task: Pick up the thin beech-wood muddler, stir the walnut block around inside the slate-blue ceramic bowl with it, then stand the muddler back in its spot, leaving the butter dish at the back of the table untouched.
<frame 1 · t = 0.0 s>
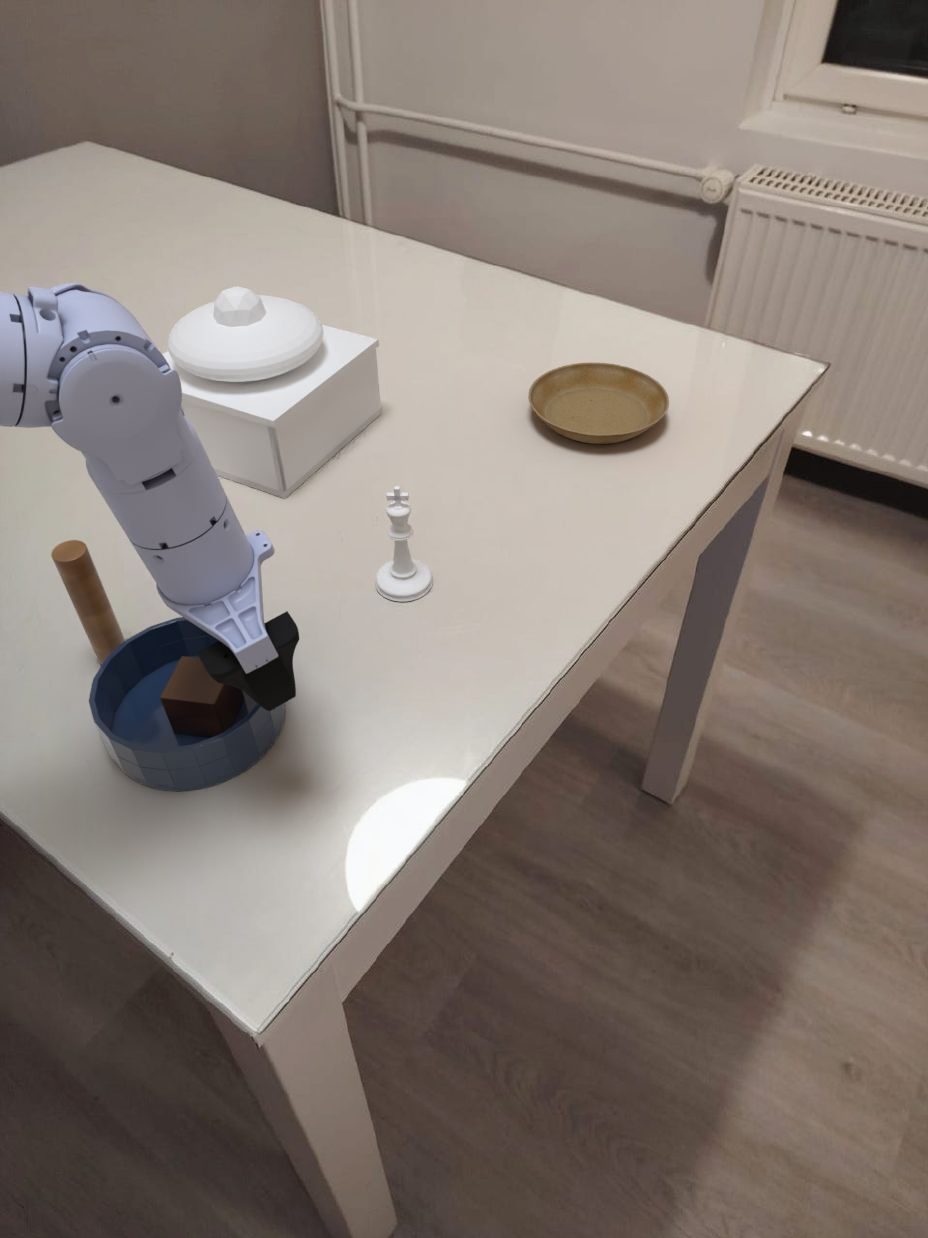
hand: (258, 662, 58), 8 cm above the table, tool pointing down, fingers open, 7 cm apart
block: (209, 715, 64), point 1 cm above the table, touching bowl
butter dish: (269, 434, 92), on the table
chess piece: (404, 584, 75), on the table
plant saucer: (595, 419, 93), on the table
muddler: (114, 656, 69), on the table
bowl: (198, 718, 64), on the table
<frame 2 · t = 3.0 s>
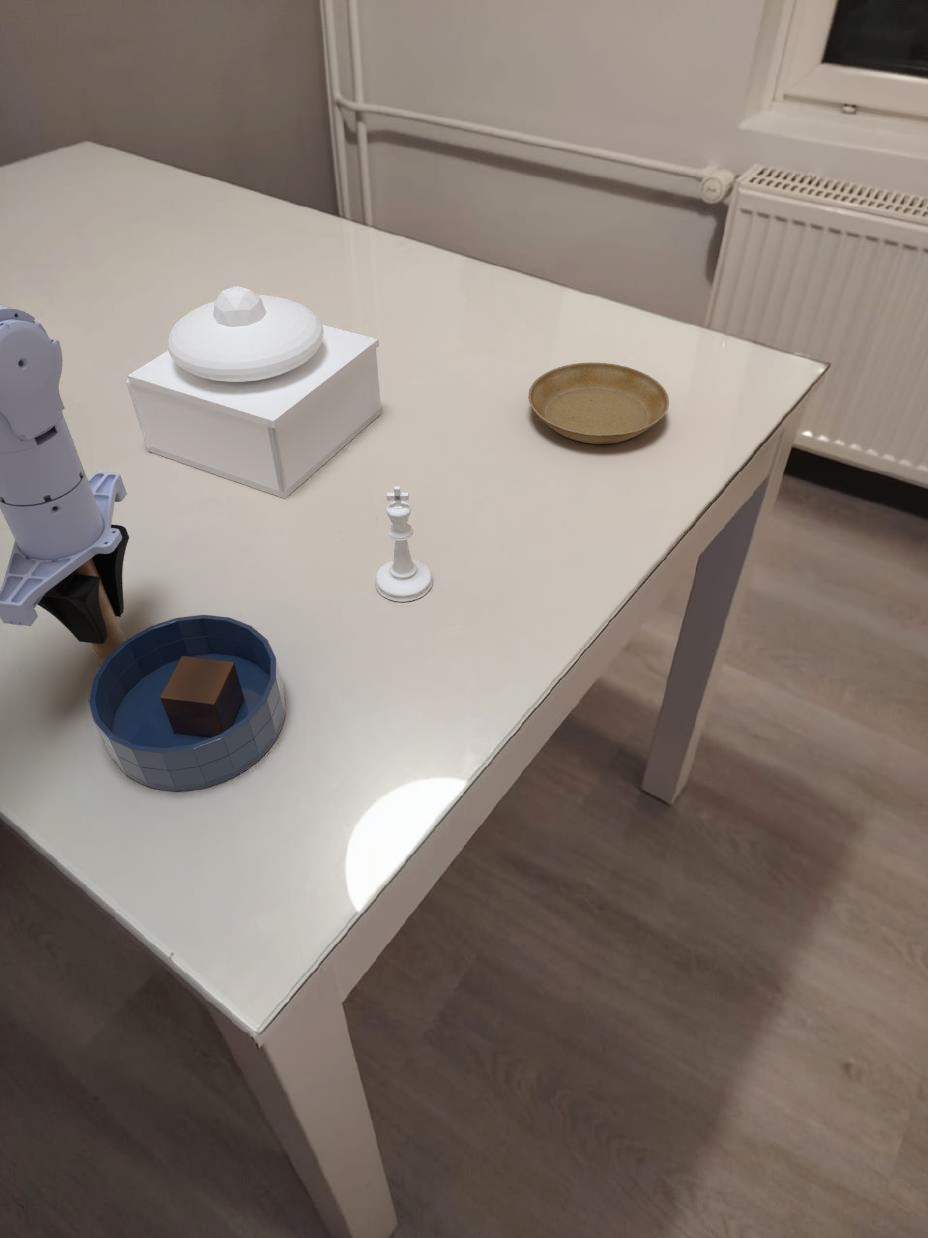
hand: (101, 626, 66), 3 cm above the table, tool pointing down, fingers closed on muddler, 2 cm apart
muddler: (114, 656, 69), on the table, touching gripper
everything else where it was.
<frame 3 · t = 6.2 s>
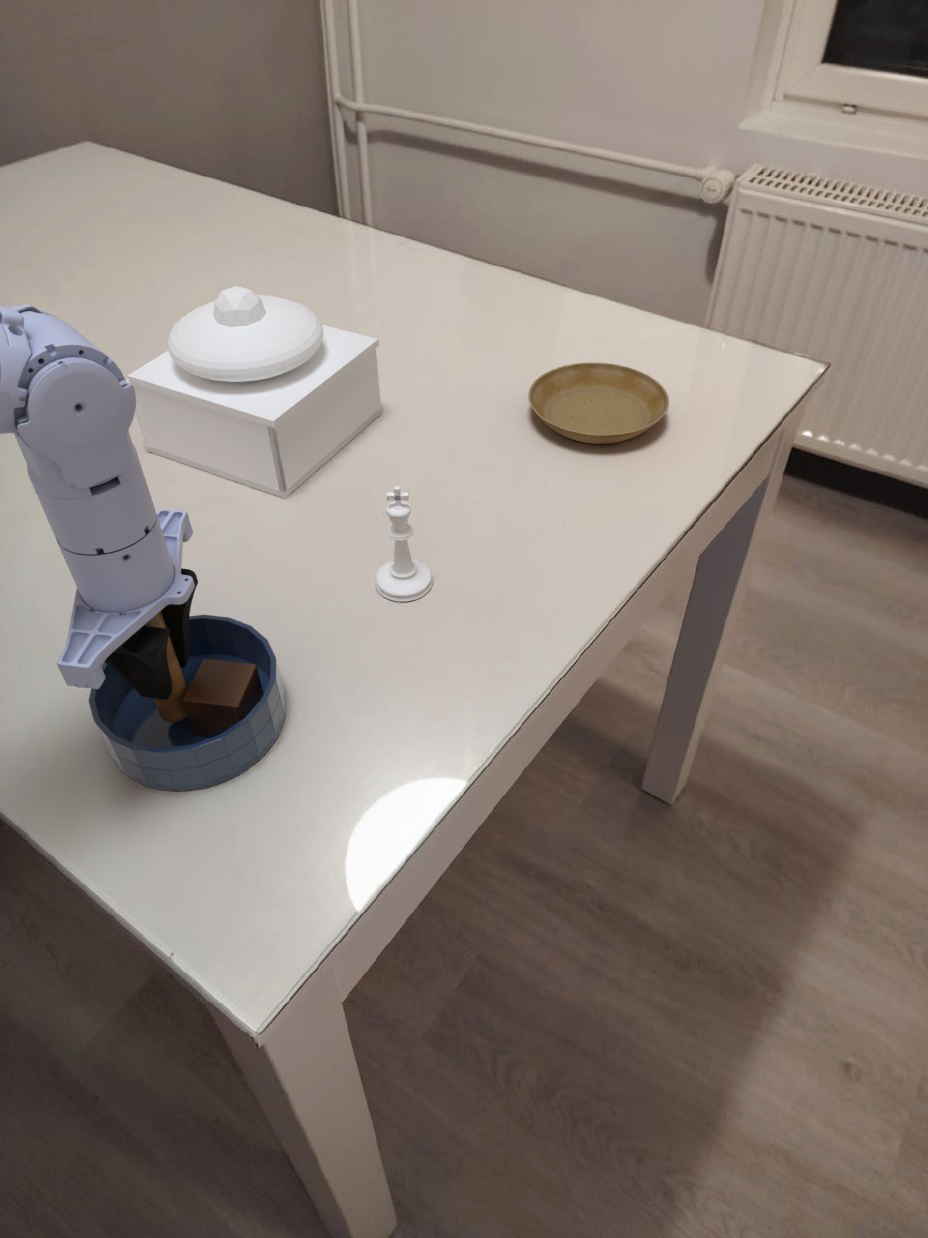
hand: (164, 678, 60), 5 cm above the table, tool pointing down, fingers closed on muddler, 2 cm apart
block: (231, 717, 64), point 1 cm above the table, touching bowl
muddler: (176, 709, 63), point 2 cm above the table, touching gripper
everything else where it was.
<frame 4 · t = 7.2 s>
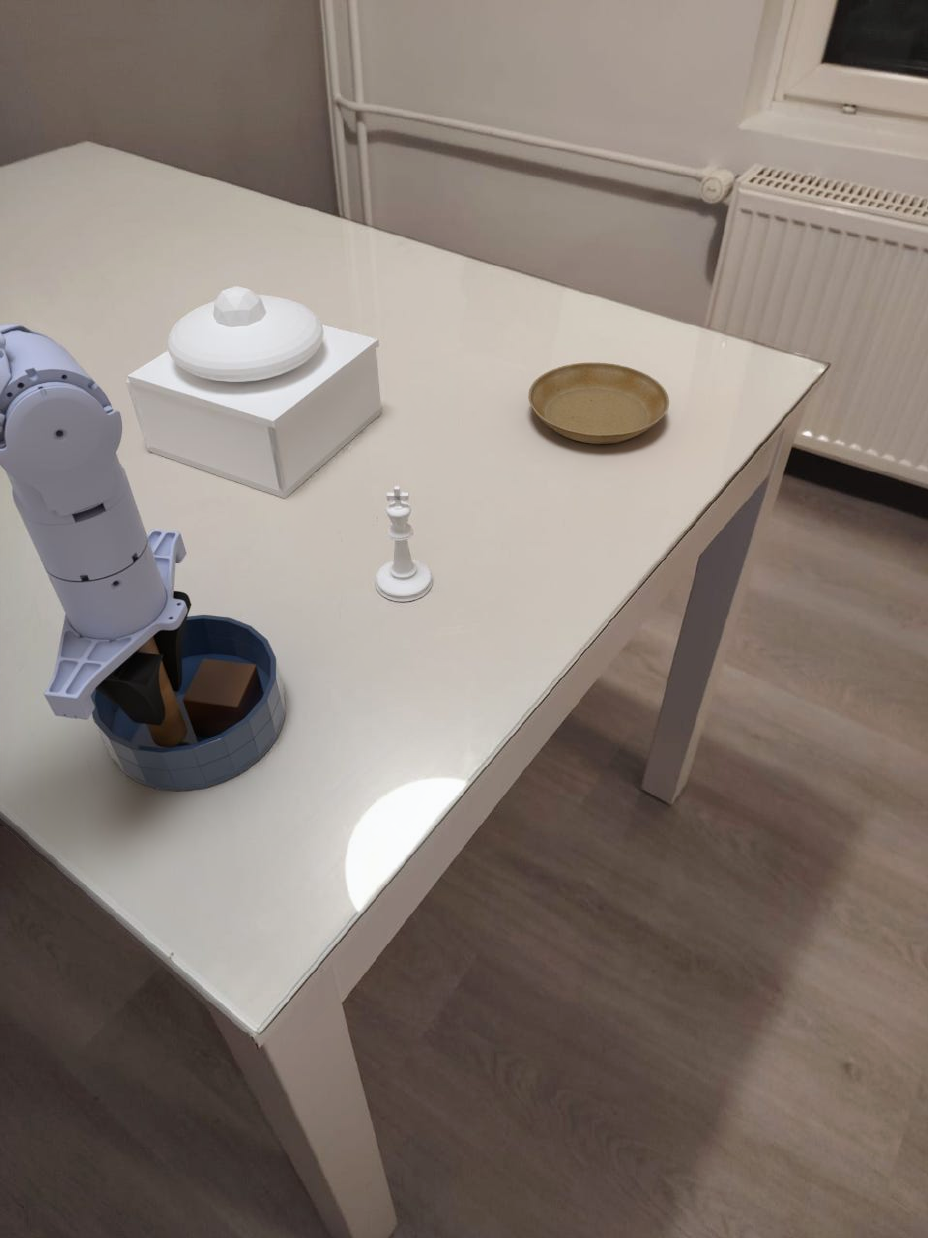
hand: (157, 703, 59), 5 cm above the table, tool pointing down, fingers closed on muddler, 2 cm apart
muddler: (170, 734, 61), point 2 cm above the table, touching gripper
everything else where it was.
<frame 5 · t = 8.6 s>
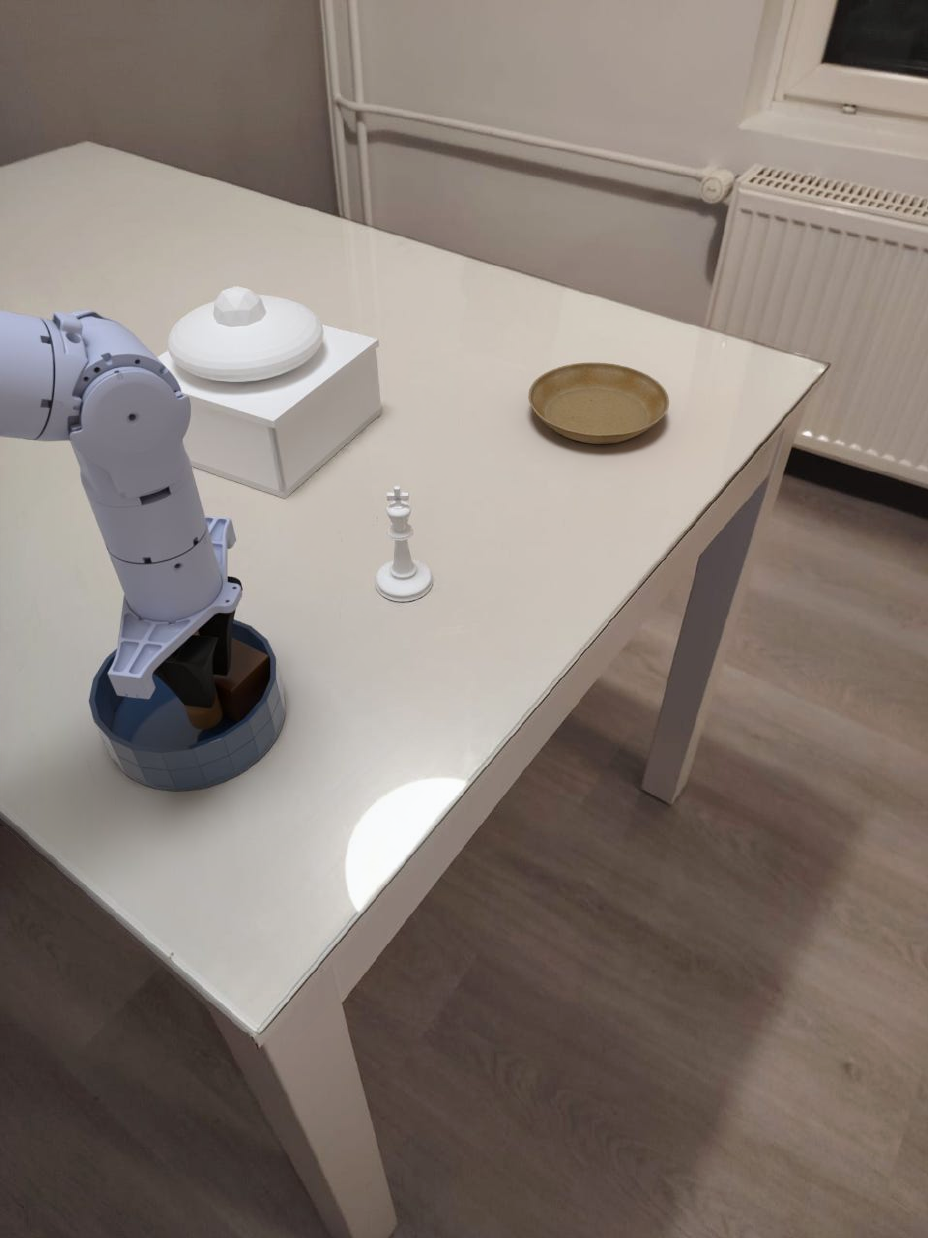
hand: (207, 687, 60), 5 cm above the table, tool pointing down, fingers closed on muddler, 2 cm apart
block: (239, 698, 65), point 1 cm above the table, touching bowl, muddler
muddler: (206, 716, 62), point 2 cm above the table, touching block, gripper
everything else where it was.
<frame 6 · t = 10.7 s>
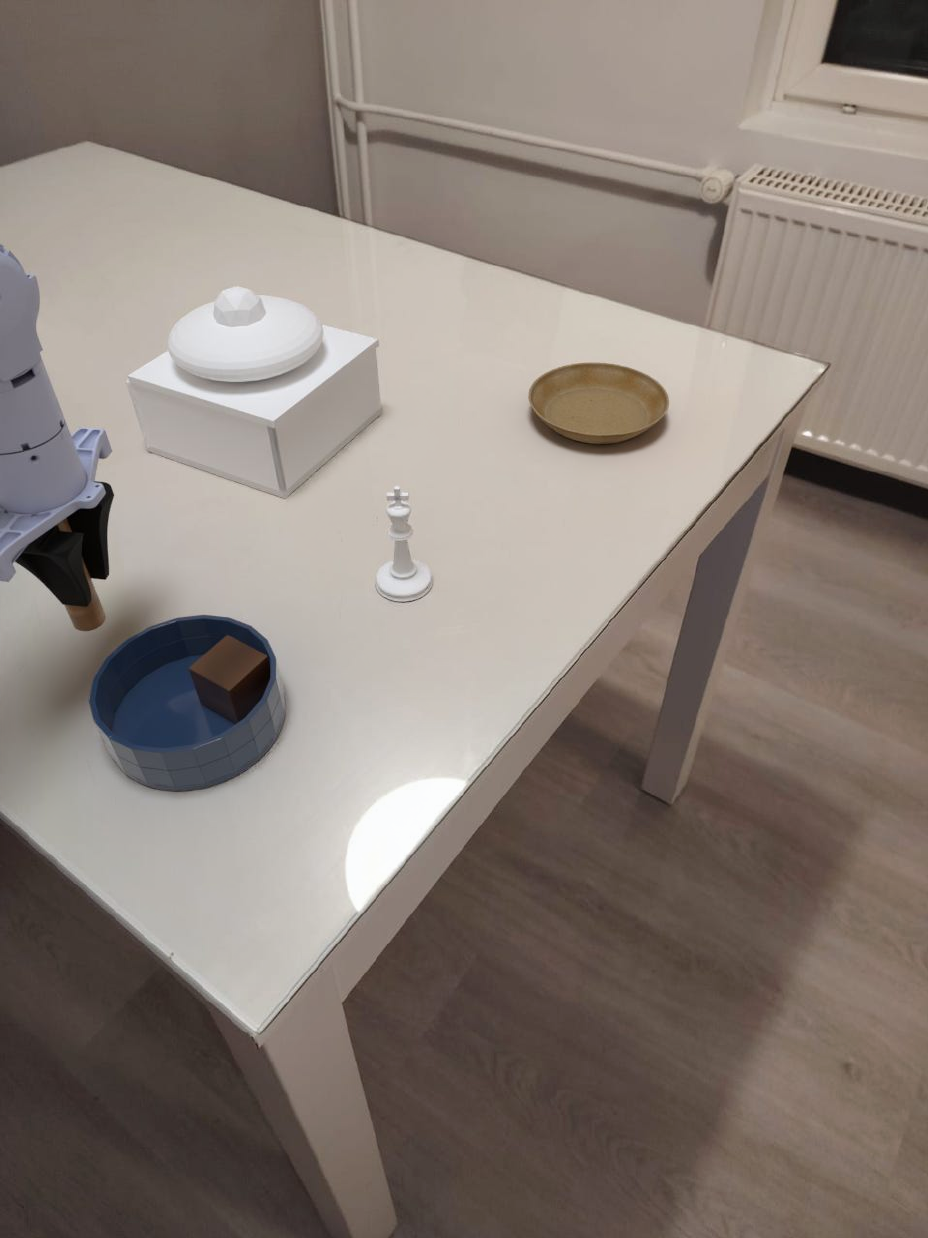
hand: (85, 589, 64), 7 cm above the table, tool pointing down, fingers closed on muddler, 2 cm apart
block: (238, 697, 65), point 1 cm above the table, touching bowl
muddler: (89, 620, 66), point 4 cm above the table, touching gripper
everything else where it was.
when the fingers open (3 cm above the table, at t = 11.9 s): muddler stays where it is, on the table.
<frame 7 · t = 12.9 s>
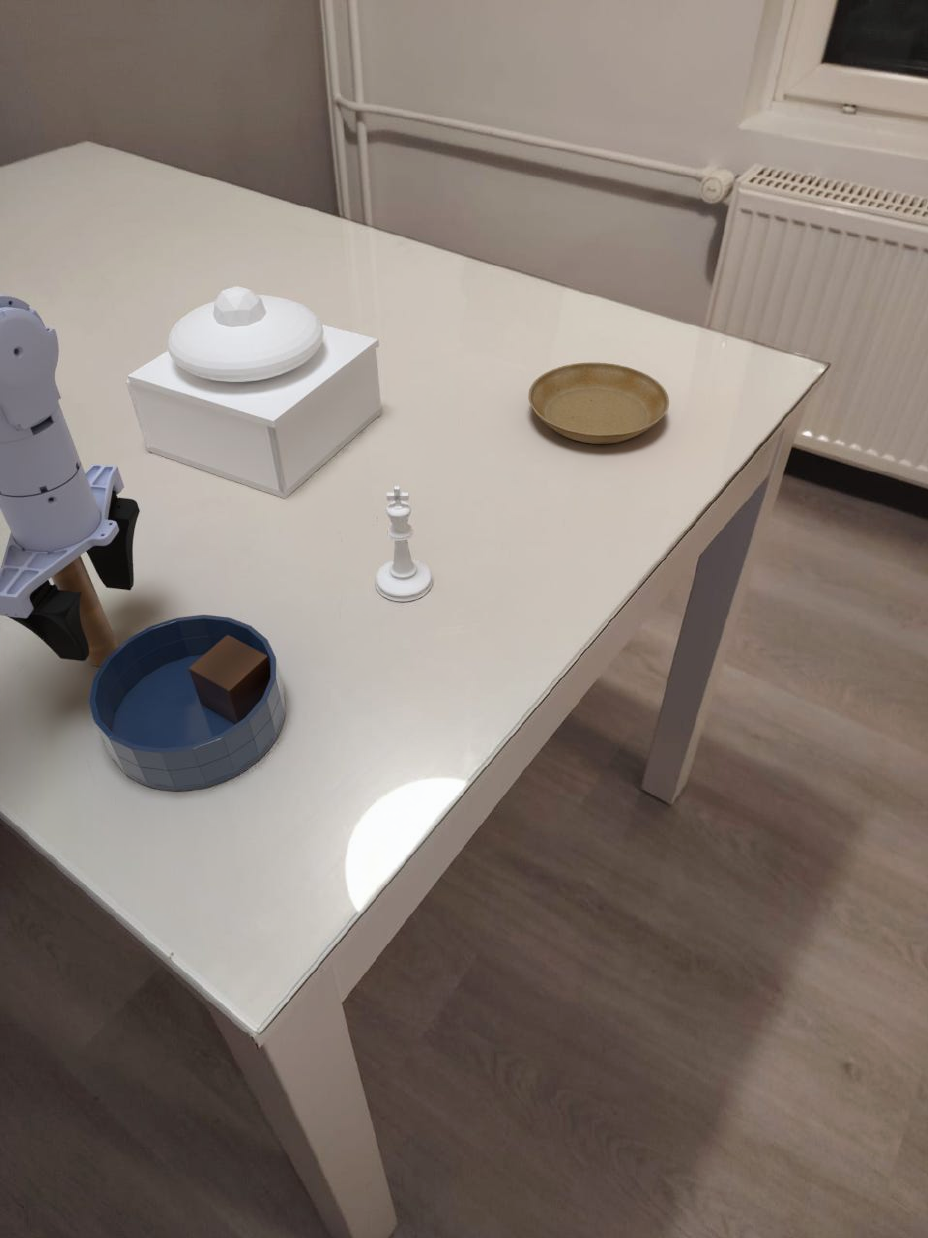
hand: (98, 619, 66), 4 cm above the table, tool pointing down, fingers open, 7 cm apart
muddler: (104, 655, 69), on the table
everything else where it was.
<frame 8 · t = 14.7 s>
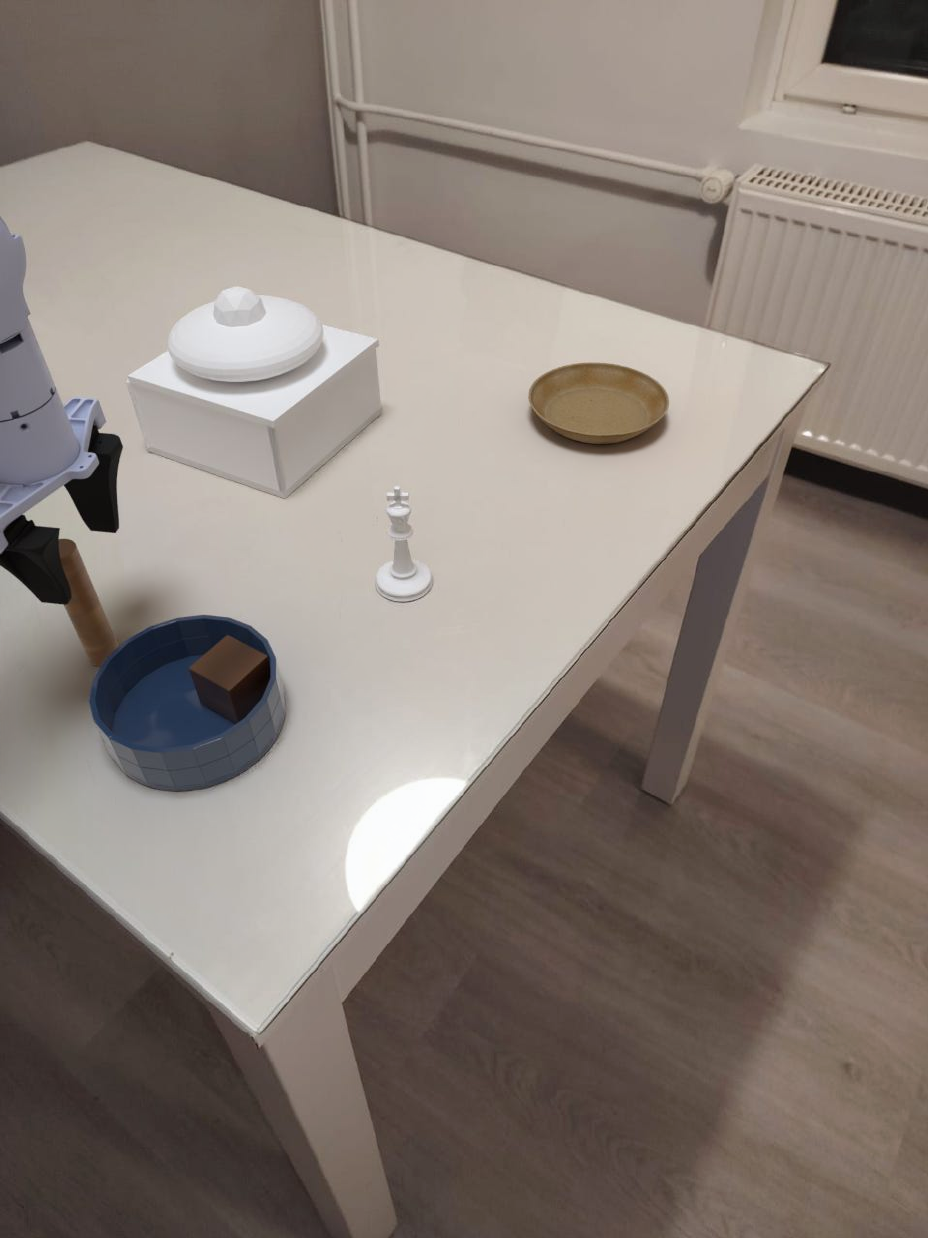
hand: (81, 563, 63), 9 cm above the table, tool pointing down, fingers open, 7 cm apart
nothing on the table moved.
at the end: block moved 2.5 cm from its start; block inside the target area in the bowl (3.2 cm from its centre), point 0.6 cm above the bowl's base; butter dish moved 0.2 cm from its start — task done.
